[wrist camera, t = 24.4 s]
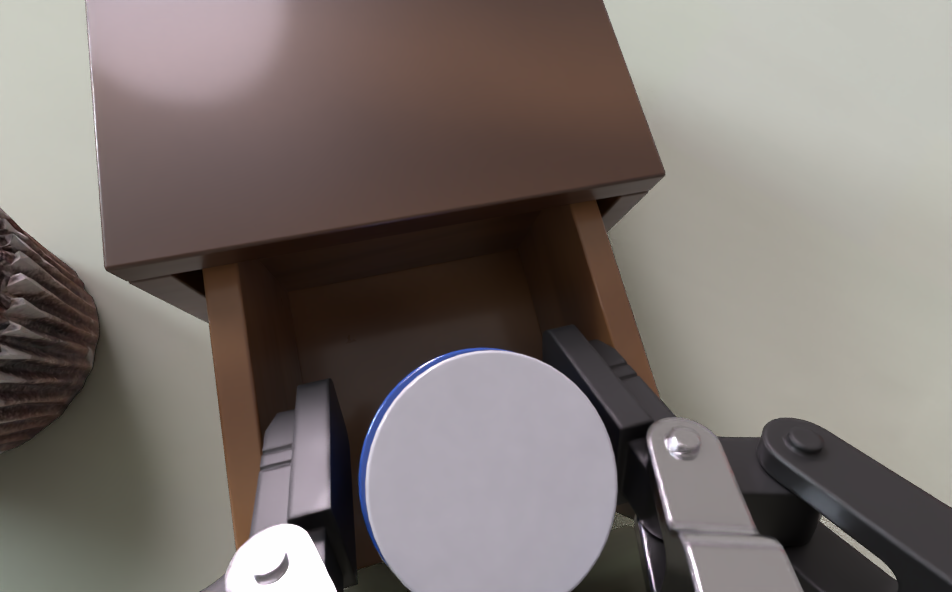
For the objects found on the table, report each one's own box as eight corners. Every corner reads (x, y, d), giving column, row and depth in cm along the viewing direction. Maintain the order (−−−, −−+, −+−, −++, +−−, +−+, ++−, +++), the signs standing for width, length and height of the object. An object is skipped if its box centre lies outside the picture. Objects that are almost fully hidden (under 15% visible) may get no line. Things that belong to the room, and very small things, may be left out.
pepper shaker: (372, 514, 15) (325, 630, 7) (393, 375, 16) (376, 321, 8) (508, 526, 16) (628, 650, 7) (519, 390, 17) (634, 354, 8)
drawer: (697, 762, 16) (907, 1007, 9) (336, 919, 14) (267, 1389, 7) (543, 233, 20) (610, 138, 13) (247, 288, 18) (151, 207, 11)
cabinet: (561, 277, 20) (668, 174, 12) (245, 342, 18) (102, 271, 10) (483, 12, 24) (524, -218, 15) (203, 38, 21) (67, -218, 13)
